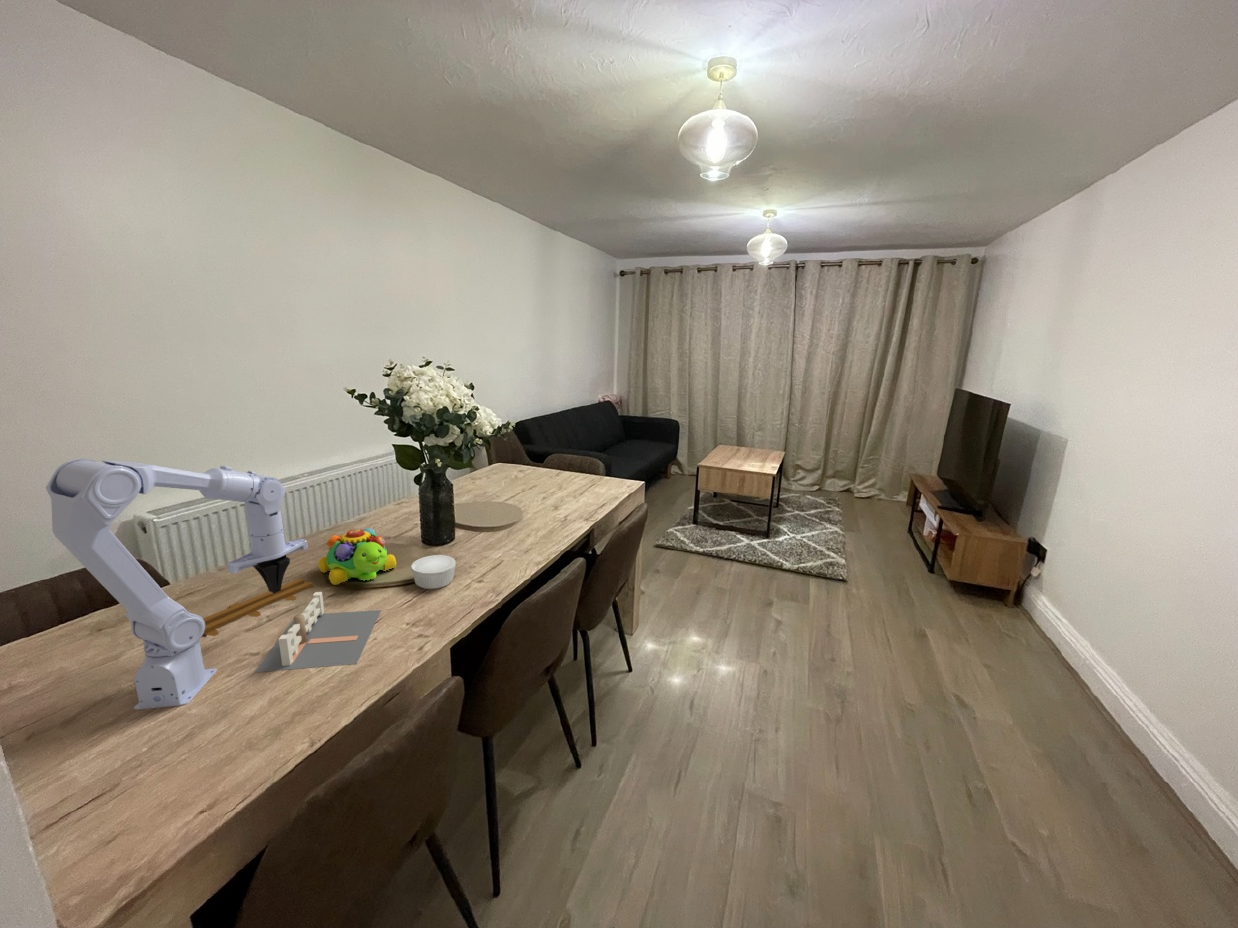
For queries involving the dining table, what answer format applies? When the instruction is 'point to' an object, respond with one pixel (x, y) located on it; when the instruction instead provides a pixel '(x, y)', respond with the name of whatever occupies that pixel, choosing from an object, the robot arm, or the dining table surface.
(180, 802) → the dining table surface
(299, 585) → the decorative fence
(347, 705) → the dining table surface
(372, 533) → the turtle toy
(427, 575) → the ramekin
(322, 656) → the card
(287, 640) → the fence fixed
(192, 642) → the robot arm
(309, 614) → the fence gate
